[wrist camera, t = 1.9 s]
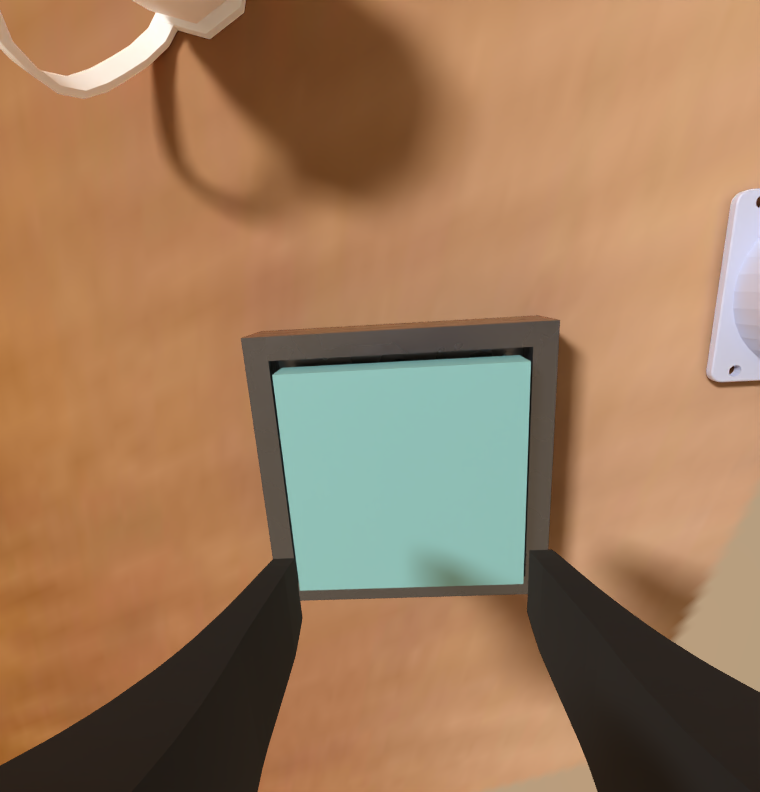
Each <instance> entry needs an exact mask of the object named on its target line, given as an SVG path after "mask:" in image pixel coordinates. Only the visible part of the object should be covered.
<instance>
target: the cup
mask: <svg viewBox="0 0 760 792" xmlns="http://www.w3.org/2000/svg"><path fill="white" fill-rule="evenodd" d="M132 1H134V2H136V3H137V4H139V5H141V6H143V7H144V8H146V9H148V10H150V11H153V12H156V13H155V16H154V18H153V20H152V22H151V24H150V26H149V28H148V29H147V30H146V31H145V32H144V33H142V34H141V35H140V36H139V37H138V38H137V39H136V40H135V41H134V42H133V43H132V44H131V45H130V46H128V47H126V48H125V49H123V50H122V51H120V52H118V53H117V54H115V55H113V56H112V57H110V58H108V59H107V60H105V61H103V62H101V63H99V64H97V65H96V66H94V67H92V68H90V69H87V70H84V71H81V72H78V73H75V74H72V75H69V76H64V75H60V74H55V73H51V72H46V71H42V70H40V69H38V68H37V67H36V66H35V64H34V63H33V62H32V61H31V60H30V59H29V58H28V57H27V56H26V55H25V54H24V53H23V52H22V51H21V50H20V48H19V47H18V46H17V45H16V44H15V43H14V42H13V41H12V38H11V36H10V33H9V31H8V28H7V26H6V23H5V21H4V18H3V16H2V13H1V11H0V49H1V50H2V51H3V52H4V53H5V54H6V55H7V56H8V57H9V58H10V59H11V60H12V61H13V62H15V63H16V64H17V65H19V66H20V67H21V68H23V69H24V70H25V71H27V72H28V73H29V74H31V75H32V76H33V77H35V78H36V79H38V80H39V81H40V82H42V83H43V84H45V85H46V86H47V87H49V88H50V89H52V90H53V91H55V92H56V93H57V94H61V95H66V96H71V97H76V98H81V99H86V98H90V97H93V96H96V95H100V94H103V93H106V92H109V91H111V90H112V89H114V88H116V87H117V86H119V85H121V84H122V83H124V82H126V81H127V80H129V79H130V78H132V77H133V76H135V75H136V74H138V73H139V72H141V71H142V70H144V69H145V68H147V67H148V66H149V65H151V64H152V63H153V62H154V61H155V60H156V59H157V58H158V57H159V56H160V55H161V54H162V53H163V52H164V51H165V50H166V49H167V48H168V47H169V46H170V44H171V42H172V40H173V38H174V36H175V34H176V33H177V31H182V32H185V33H189V34H193V35H196V36H200V37H203V38H207V39H211V38H212V37H214V36H215V35H216V34H218V33H219V32H220V31H221V30H223V29H224V28H225V27H226V26H228V25H229V24H230V23H232V22H233V21H234V20H235V19H237V18H238V17H239V16H241V15H242V14H243V13H244V11H245V4H246V0H132Z"/></svg>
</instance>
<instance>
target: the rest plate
mask: <svg viewBox="0 0 760 792" xmlns="http://www.w3.org/2000/svg"><path fill="white" fill-rule="evenodd" d="M530 375H531V361H529V360H527V359H526V358H524V357H522V356H520V355H511V356H492V357H474V358H455V359H436V360H417V361H399V362H380V363H361V364H343V365H324V366H305V367H286V368H281V369H280V370H278V371H277V372H276V373H274V374H273V375H272V377H273V385H274V393H275V400H276V408H277V416H278V424H279V431H280V439H281V447H282V455H283V462H284V470H285V478H286V486H287V494H288V501H289V509H290V517H291V525H292V532H293V540H294V548H295V556H296V563H297V571H298V579H299V587H300V591H305V590H339V589H372V588H406V587H439V586H473V585H507V584H523V578H524V549H525V520H526V491H527V462H528V433H529V404H530Z"/></svg>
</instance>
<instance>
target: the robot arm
mask: <svg viewBox="0 0 760 792" xmlns="http://www.w3.org/2000/svg"><path fill="white" fill-rule="evenodd" d="M758 197H759V198H760V189H750V190H746V191H742V192H740V193H738V194H737V195H735V197H734V198H733V199H732V202H731V205H730V212H729V219H728V226H727V233H726V239H725V246H724V253H723V260H722V267H721V274H720V281H719V288H718V294H717V301H716V308H715V315H714V322H713V329H712V336H711V343H710V350H709V356H708V363H707V370H706V372H707V376H708V378H709V379H711V380H713V381H716V382H736V381H757V380H760V207H759V208H758V207H757V206H756V201H757V198H758ZM732 366H734V371H733V372H732V373H731V374H729V370H730V368H731V367H732ZM527 613H528V616H529V620H530V623H531V626H532V630H533V633H534V636H535V639H536V642H537V646H538V649H539V651H540V654H541V656H542V658H543V661H544V663H545V665H546V668H547V670H548V672H549V674H550V677H551V679H552V681H553V684H554V686H555V688H556V690H557V693H558V695H559V697H560V699H561V702H562V704H563V706H564V709H565V711H566V713H567V715H568V718H569V720H570V722H571V724H572V727H573V729H574V731H575V733H576V736H577V738H578V740H579V743H580V745H581V748H582V750H583V753H584V755H585V758H586V760H587V763H588V765H589V768H590V771H591V774H592V777H593V779H594V782H595V785H596V788H597V791H598V792H760V692H758V691H756V690H754V689H752V688H750V687H749V686H747V685H745V684H743V683H741V682H740V681H738V680H736V679H734V678H732V677H731V676H729V675H727V674H725V673H723V672H721V671H720V670H718V669H716V668H714V667H713V666H711V665H709V664H708V663H706V662H704V661H703V660H701V659H699V658H698V657H696V656H694V655H693V654H691V653H690V652H688V651H686V650H685V649H683V648H682V647H680V646H678V645H677V644H675V643H674V642H672V641H671V640H669V639H667V638H666V637H664V636H663V635H661V634H660V633H658V632H657V631H656V630H654V629H653V628H651V627H650V626H648V625H647V624H646V623H644V622H643V621H641V620H640V619H639V618H637V617H636V616H634V615H633V614H632V613H630V612H629V611H628V610H626V609H625V608H624V607H622V606H621V605H620V604H618V603H617V602H616V601H614V600H613V599H612V598H611V597H609V596H608V595H607V594H605V593H604V592H603V591H602V590H600V589H599V588H598V587H597V586H595V585H594V584H593V583H592V582H591V581H589V580H588V579H587V578H586V577H585V576H583V575H582V574H581V573H580V572H578V571H577V570H576V569H575V568H574V567H573V566H571V565H570V564H569V563H568V562H567V561H565V560H564V559H563V558H562V557H561V556H559V555H558V554H557V553H556V552H554V551H553V550H529V575H528V602H527ZM301 623H302V611H301V603H300V596H299V588H298V580H297V573H296V565H295V558H283V559H273V560H272V561H271V562H270V563H269V564H268V565H267V566H266V567H265V568H264V569H263V570H262V571H261V572H260V573H259V574H258V576H257V577H256V578H255V579H254V580H253V581H252V582H251V583H250V584H249V585H248V586H247V587H246V588H245V589H244V590H243V591H242V592H241V593H240V594H239V595H238V596H237V598H236V599H235V600H234V601H233V602H232V603H231V604H230V605H229V606H228V607H227V608H226V609H225V610H224V611H223V612H222V613H221V614H219V615H218V616H217V617H216V618H215V619H214V620H213V621H212V622H211V623H210V624H209V625H208V626H207V627H206V628H204V629H203V630H202V631H201V632H200V633H199V634H198V635H197V636H196V637H195V638H194V639H192V640H191V641H190V642H189V643H188V644H187V645H185V646H184V647H183V648H182V649H181V650H179V651H178V652H177V653H176V654H174V655H173V656H172V657H171V658H169V659H168V660H167V661H166V662H164V663H163V664H162V665H161V666H159V667H158V668H157V669H155V670H154V671H153V672H151V673H150V674H149V675H147V676H146V677H144V678H143V679H142V680H140V681H139V682H137V683H136V684H134V685H133V686H132V687H130V688H129V689H127V690H126V691H125V692H123V693H122V694H120V695H119V696H118V697H116V698H115V699H113V700H112V701H110V702H109V703H107V704H106V705H104V706H103V707H101V708H99V709H98V710H96V711H95V712H93V713H92V714H90V715H88V716H87V717H85V718H84V719H82V720H80V721H79V722H77V723H75V724H74V725H72V726H70V727H69V728H67V729H65V730H64V731H62V732H60V733H59V734H57V735H55V736H54V737H52V738H50V739H48V740H47V741H45V742H43V743H41V744H39V745H38V746H36V747H34V748H32V749H30V750H28V751H26V752H25V753H23V754H21V755H19V756H17V757H15V758H14V759H12V760H10V761H8V762H6V763H4V764H2V765H1V766H0V792H257V791H258V787H259V782H260V777H261V773H262V768H263V764H264V761H265V757H266V753H267V749H268V746H269V742H270V739H271V736H272V732H273V729H274V726H275V723H276V719H277V716H278V713H279V709H280V706H281V703H282V699H283V696H284V693H285V690H286V686H287V683H288V680H289V676H290V673H291V670H292V666H293V663H294V659H295V656H296V651H297V645H298V640H299V635H300V629H301Z"/></svg>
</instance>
